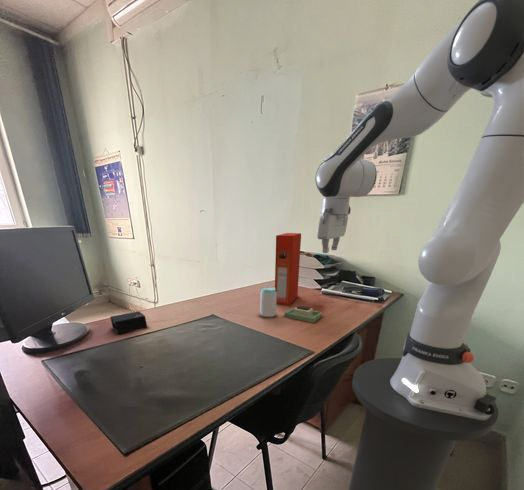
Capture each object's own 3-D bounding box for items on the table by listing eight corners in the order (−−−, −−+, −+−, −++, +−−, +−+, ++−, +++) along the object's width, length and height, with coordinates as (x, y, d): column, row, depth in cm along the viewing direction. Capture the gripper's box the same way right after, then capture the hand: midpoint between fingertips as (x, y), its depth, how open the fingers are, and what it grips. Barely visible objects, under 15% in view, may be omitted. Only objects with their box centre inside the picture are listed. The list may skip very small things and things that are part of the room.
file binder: (273, 303, 142) (276, 235, 128) (283, 295, 157) (286, 232, 143) (289, 305, 140) (293, 235, 126) (297, 296, 154) (301, 233, 140)
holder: (321, 316, 126) (322, 312, 125) (313, 323, 119) (314, 318, 118) (293, 311, 132) (294, 307, 131) (284, 316, 125) (284, 312, 124)
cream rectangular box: (312, 315, 126) (313, 306, 124) (308, 318, 122) (309, 309, 120) (298, 312, 129) (298, 304, 127) (293, 315, 125) (293, 307, 123)
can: (277, 317, 124) (278, 290, 118) (261, 318, 123) (261, 290, 118) (274, 312, 130) (275, 286, 125) (259, 312, 129) (259, 286, 124)
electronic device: (112, 328, 110) (110, 316, 107) (141, 322, 116) (138, 311, 113) (118, 334, 104) (115, 322, 102) (147, 328, 110) (145, 316, 108)
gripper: (334, 208, 87) (328, 255, 93) (352, 209, 102) (346, 249, 109) (314, 208, 89) (310, 253, 96) (335, 208, 105) (330, 248, 111)
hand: (329, 251), depth 102 cm, fingers open, 8 cm apart
